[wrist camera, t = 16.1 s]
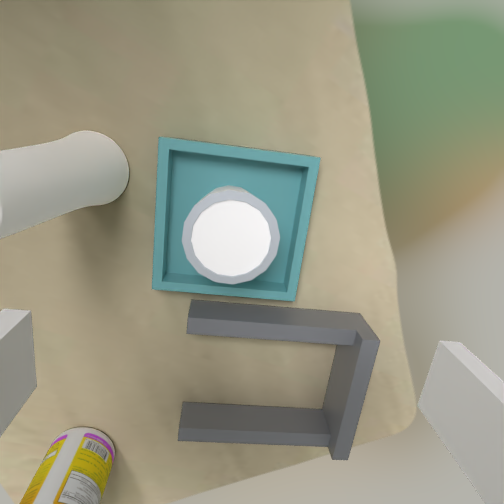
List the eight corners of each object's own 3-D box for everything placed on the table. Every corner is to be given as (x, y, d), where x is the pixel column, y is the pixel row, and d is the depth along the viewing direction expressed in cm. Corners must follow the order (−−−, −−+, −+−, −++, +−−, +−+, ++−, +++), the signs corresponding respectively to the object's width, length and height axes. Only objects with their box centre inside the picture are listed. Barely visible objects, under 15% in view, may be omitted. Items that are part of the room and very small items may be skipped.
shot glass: (173, 219, 31) (160, 242, 25) (227, 160, 30) (228, 168, 23) (231, 268, 33) (233, 303, 26) (284, 215, 32) (300, 237, 25)
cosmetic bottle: (136, 200, 31) (-46, 341, 10) (65, 208, 31) (-271, 370, 10) (120, 126, 29) (-146, 112, 8) (45, 134, 29) (-428, 141, 8)
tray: (164, 136, 29) (158, 136, 27) (313, 155, 31) (320, 158, 28) (157, 278, 33) (151, 289, 31) (289, 289, 35) (294, 301, 32)
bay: (181, 414, 38) (175, 453, 34) (191, 299, 34) (186, 326, 29) (333, 421, 40) (347, 460, 35) (359, 313, 36) (380, 340, 31)
